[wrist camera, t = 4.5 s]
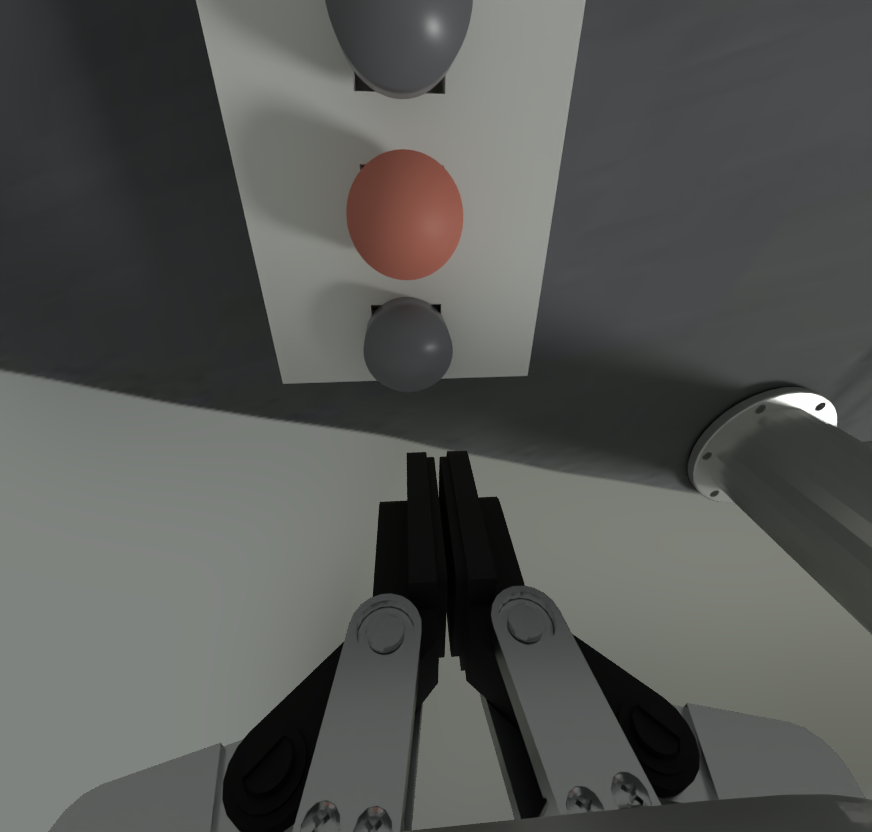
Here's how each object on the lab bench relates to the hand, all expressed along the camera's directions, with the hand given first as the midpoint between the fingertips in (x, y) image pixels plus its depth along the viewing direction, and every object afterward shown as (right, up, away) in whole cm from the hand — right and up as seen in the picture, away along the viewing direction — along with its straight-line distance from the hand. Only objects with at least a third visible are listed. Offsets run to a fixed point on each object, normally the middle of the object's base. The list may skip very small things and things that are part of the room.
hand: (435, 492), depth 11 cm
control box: (-2, +15, +12) cm, 19 cm away
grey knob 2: (-2, +8, +13) cm, 15 cm away
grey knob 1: (-2, +18, +5) cm, 18 cm away
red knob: (-2, +13, +8) cm, 15 cm away
